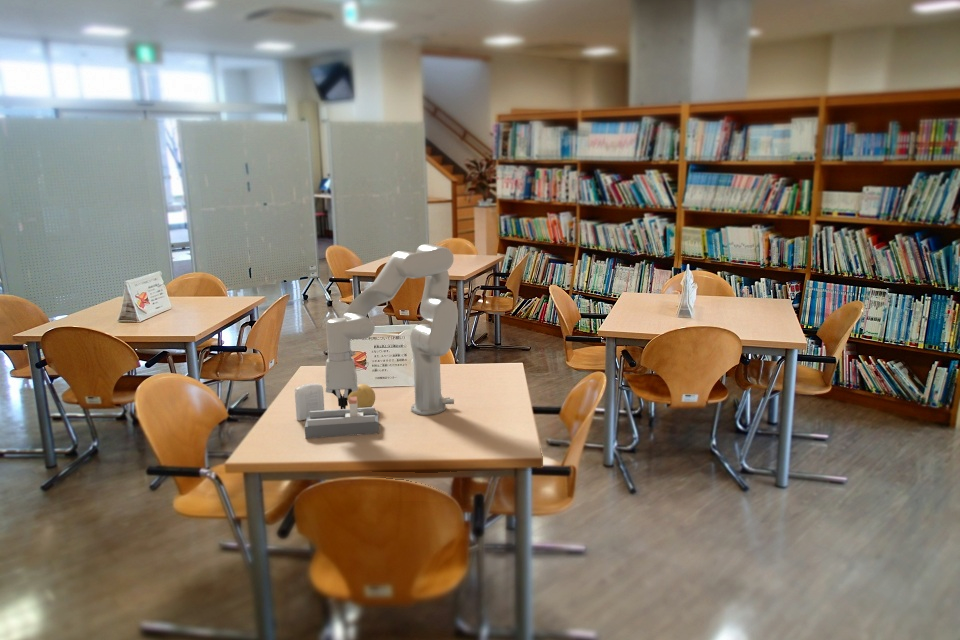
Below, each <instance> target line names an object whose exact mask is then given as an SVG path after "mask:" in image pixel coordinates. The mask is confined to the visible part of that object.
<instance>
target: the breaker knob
mask: <svg viewBox="0 0 960 640" xmlns="http://www.w3.org/2000/svg"><path fill="white" fill-rule="evenodd" d="M348 404H349V405H348V406H349V409H350V413H346V414H345V417H353V416H363V412H358V406H357V396H356V397H350V399H349V402H348Z"/></svg>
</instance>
